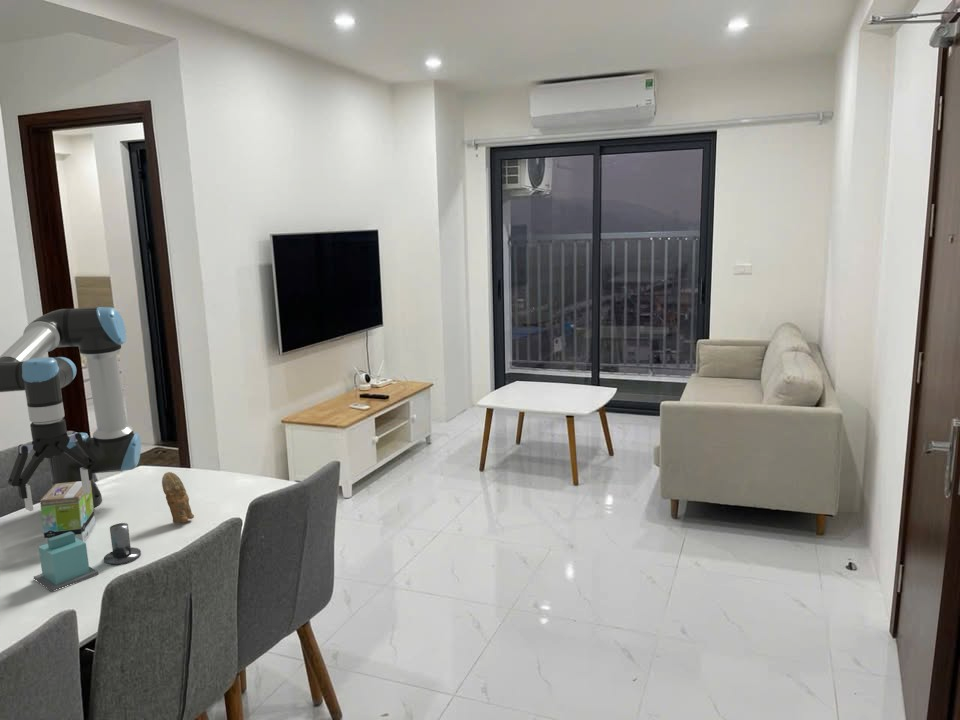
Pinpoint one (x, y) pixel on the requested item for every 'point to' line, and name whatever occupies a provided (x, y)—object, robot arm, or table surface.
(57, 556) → the cap
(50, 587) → the pad
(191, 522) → the table surface
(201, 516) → the table surface
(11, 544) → the table surface
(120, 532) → the post
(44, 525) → the tea box
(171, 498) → the figurine
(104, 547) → the table surface
